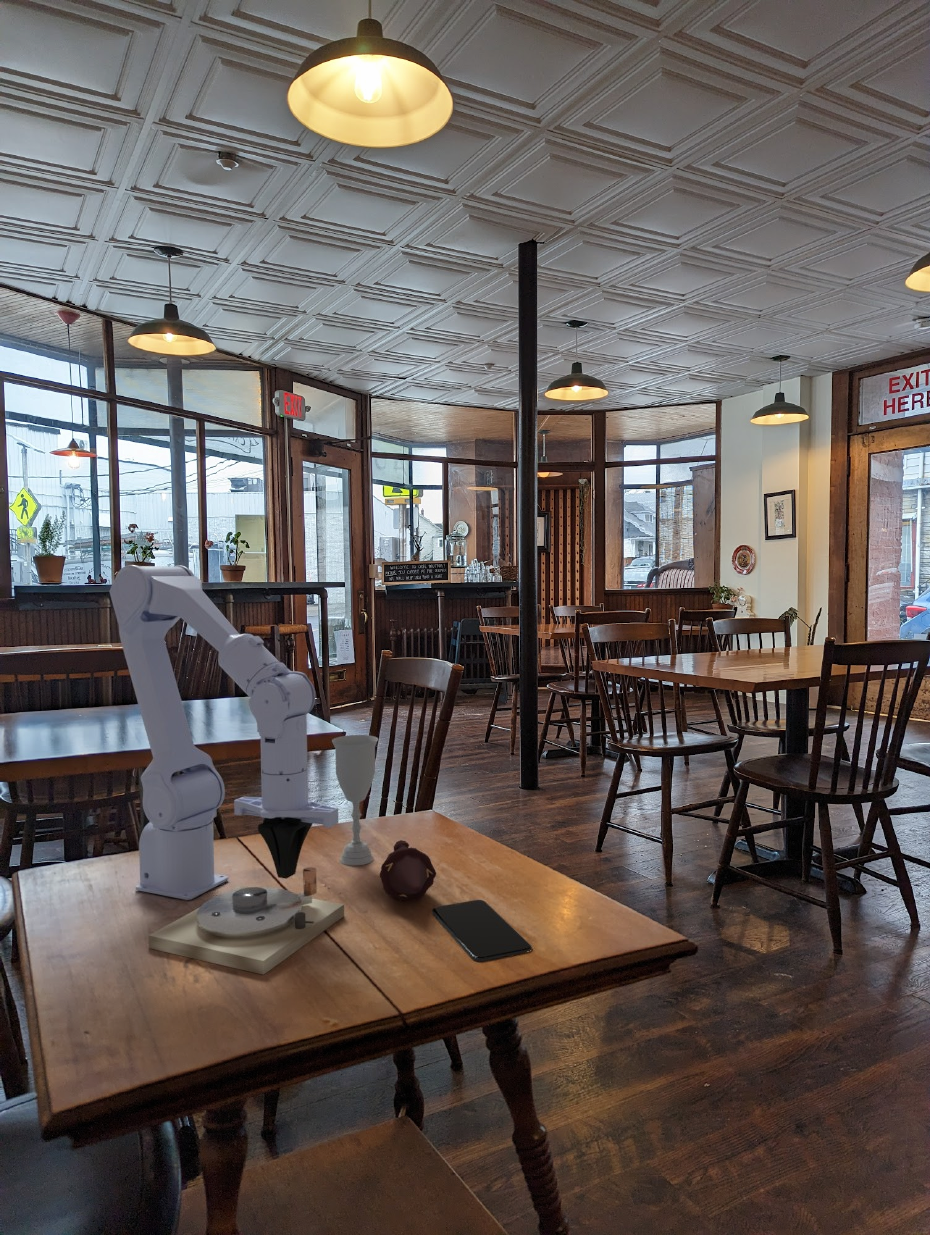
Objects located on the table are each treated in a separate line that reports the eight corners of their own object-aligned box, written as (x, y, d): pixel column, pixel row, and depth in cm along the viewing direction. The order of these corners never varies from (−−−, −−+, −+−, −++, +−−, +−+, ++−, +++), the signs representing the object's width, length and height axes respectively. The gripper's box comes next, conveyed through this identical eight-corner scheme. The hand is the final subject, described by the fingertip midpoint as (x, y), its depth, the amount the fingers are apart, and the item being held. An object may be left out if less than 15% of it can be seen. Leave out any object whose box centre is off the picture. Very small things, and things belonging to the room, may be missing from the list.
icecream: (453, 866, 100) (427, 838, 115) (395, 856, 99) (377, 830, 113) (441, 922, 100) (417, 888, 114) (382, 914, 98) (365, 880, 112)
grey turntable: (212, 946, 88) (211, 911, 88) (186, 908, 99) (185, 876, 98) (334, 917, 96) (334, 883, 96) (299, 884, 106) (298, 854, 106)
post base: (148, 948, 93) (148, 922, 93) (240, 896, 107) (239, 874, 107) (263, 974, 86) (263, 947, 86) (344, 916, 101) (343, 892, 101)
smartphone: (535, 955, 91) (483, 904, 105) (535, 947, 91) (483, 897, 105) (475, 967, 89) (429, 913, 102) (475, 959, 89) (429, 906, 102)
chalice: (376, 868, 117) (374, 744, 116) (329, 868, 117) (327, 745, 116) (382, 851, 125) (380, 734, 124) (338, 851, 125) (336, 735, 124)
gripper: (217, 771, 102) (220, 878, 103) (315, 782, 96) (317, 895, 97) (253, 759, 108) (255, 860, 109) (346, 769, 103) (348, 874, 103)
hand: (286, 875), depth 103 cm, fingers closed
